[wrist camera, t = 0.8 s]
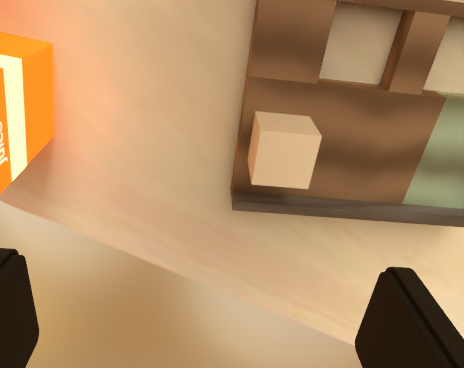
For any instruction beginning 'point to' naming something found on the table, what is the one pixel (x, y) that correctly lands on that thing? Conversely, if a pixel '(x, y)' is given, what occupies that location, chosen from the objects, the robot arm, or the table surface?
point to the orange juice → (24, 102)
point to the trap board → (357, 119)
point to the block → (283, 150)
